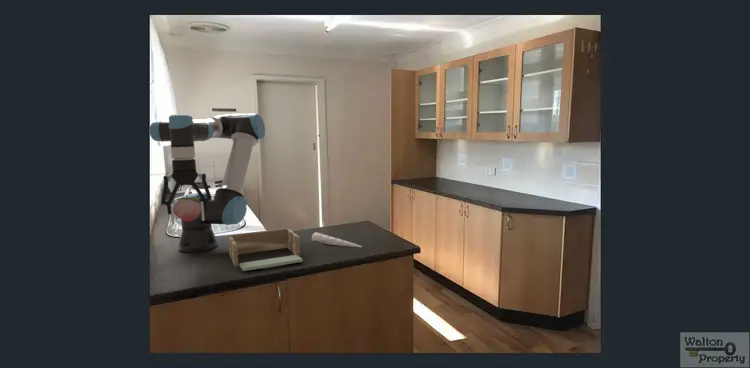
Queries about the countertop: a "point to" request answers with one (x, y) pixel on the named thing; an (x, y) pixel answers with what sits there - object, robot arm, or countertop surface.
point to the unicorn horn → (332, 240)
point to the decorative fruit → (187, 208)
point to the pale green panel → (270, 262)
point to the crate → (263, 242)
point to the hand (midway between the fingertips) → (188, 221)
